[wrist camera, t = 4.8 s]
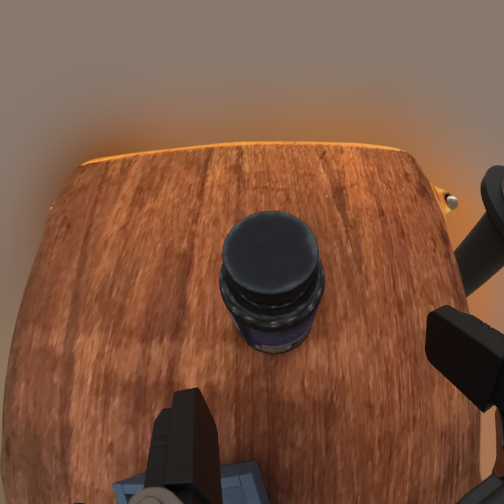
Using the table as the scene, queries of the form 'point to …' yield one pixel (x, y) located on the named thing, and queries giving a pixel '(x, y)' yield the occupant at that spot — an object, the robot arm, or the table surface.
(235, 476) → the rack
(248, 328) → the pill bottle
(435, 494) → the table surface
